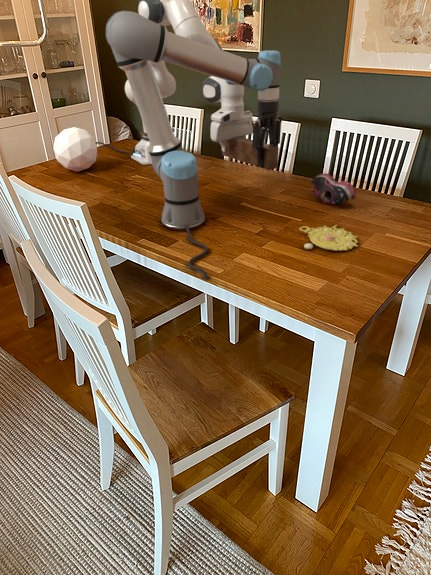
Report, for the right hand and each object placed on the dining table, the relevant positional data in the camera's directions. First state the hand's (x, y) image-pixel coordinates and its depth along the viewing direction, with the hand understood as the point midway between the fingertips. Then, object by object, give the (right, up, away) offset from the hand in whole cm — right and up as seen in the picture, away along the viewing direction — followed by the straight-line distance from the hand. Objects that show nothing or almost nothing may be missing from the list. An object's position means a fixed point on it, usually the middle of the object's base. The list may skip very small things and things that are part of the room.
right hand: (265, 165), depth 169 cm
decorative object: (+17, -32, -28) cm, 45 cm away
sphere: (-84, +9, +41) cm, 94 cm away
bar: (-6, +3, +7) cm, 10 cm away
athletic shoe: (+23, -14, 0) cm, 27 cm away
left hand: (-12, +10, +12) cm, 20 cm away
